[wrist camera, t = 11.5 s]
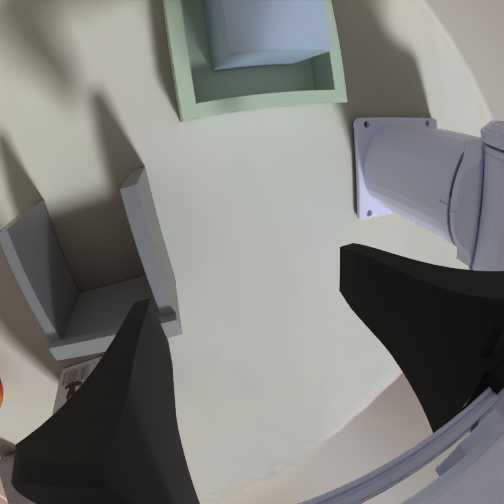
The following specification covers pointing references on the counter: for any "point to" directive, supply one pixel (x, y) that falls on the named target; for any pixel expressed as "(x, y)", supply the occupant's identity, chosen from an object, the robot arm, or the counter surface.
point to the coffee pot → (5, 472)
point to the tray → (244, 71)
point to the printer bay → (96, 300)
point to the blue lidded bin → (264, 32)
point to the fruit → (1, 393)
